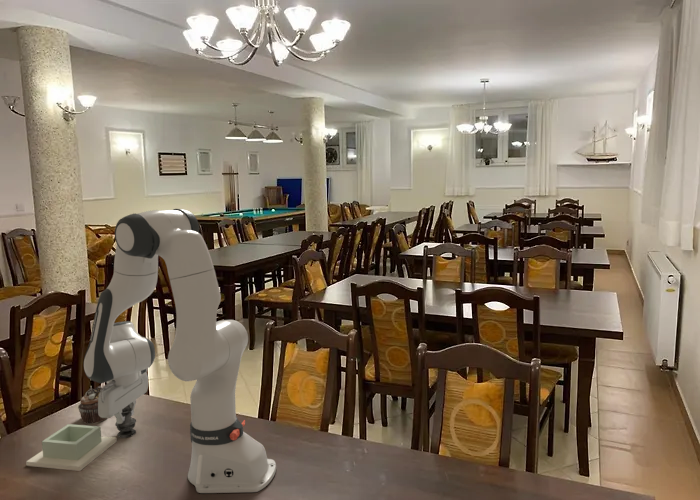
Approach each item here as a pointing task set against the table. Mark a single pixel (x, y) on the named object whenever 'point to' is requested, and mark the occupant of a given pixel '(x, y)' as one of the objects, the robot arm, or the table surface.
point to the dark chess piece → (126, 424)
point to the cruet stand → (71, 448)
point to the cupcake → (90, 406)
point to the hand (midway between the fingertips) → (125, 418)
